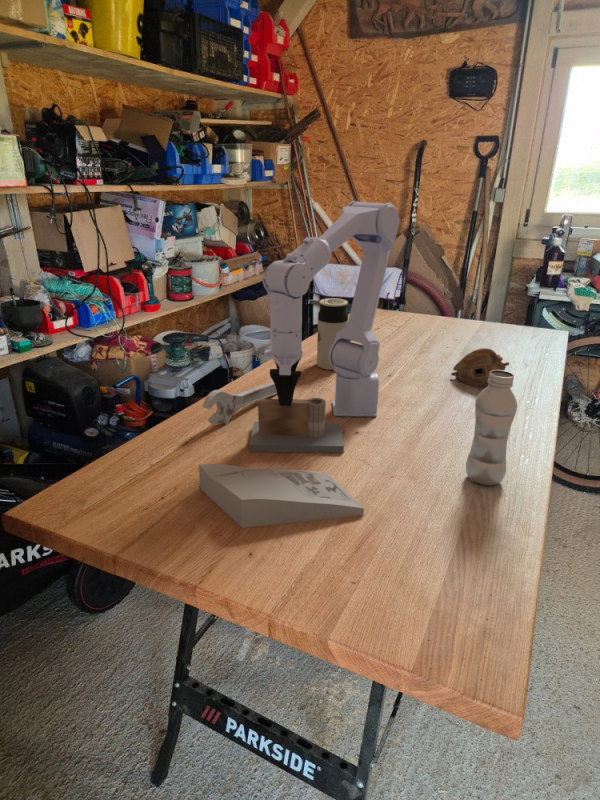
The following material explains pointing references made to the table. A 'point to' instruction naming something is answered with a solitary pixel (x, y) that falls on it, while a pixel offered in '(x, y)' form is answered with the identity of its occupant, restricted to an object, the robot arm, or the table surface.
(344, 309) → the travel mug
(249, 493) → the ramp
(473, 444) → the plastic bottle
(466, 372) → the lumpy brown dome
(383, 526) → the table surface
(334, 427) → the hinge board
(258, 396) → the wrench
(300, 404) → the door
